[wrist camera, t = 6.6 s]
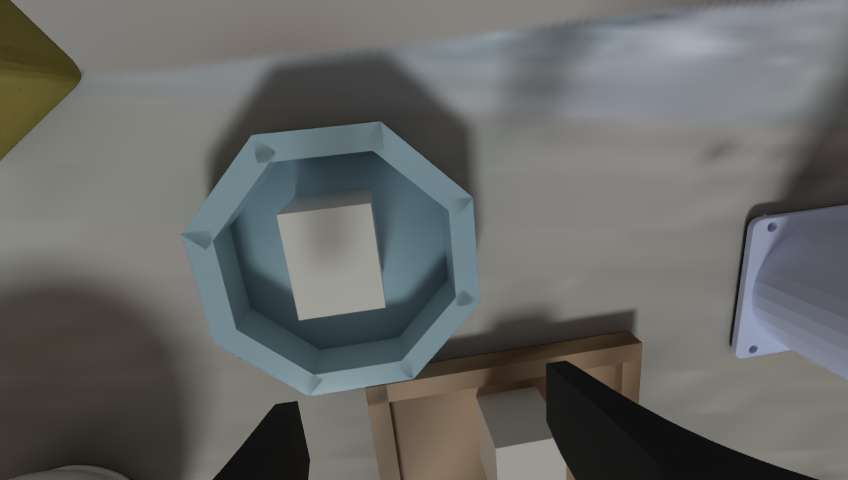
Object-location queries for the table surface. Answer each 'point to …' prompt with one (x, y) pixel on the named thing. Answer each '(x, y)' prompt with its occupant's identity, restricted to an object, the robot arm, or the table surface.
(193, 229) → the bowl
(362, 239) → the light grey block
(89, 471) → the lidded jar
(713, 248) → the table surface
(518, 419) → the sharp-edged grey cuboid
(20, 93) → the flower pot
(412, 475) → the tray
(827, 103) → the table surface
